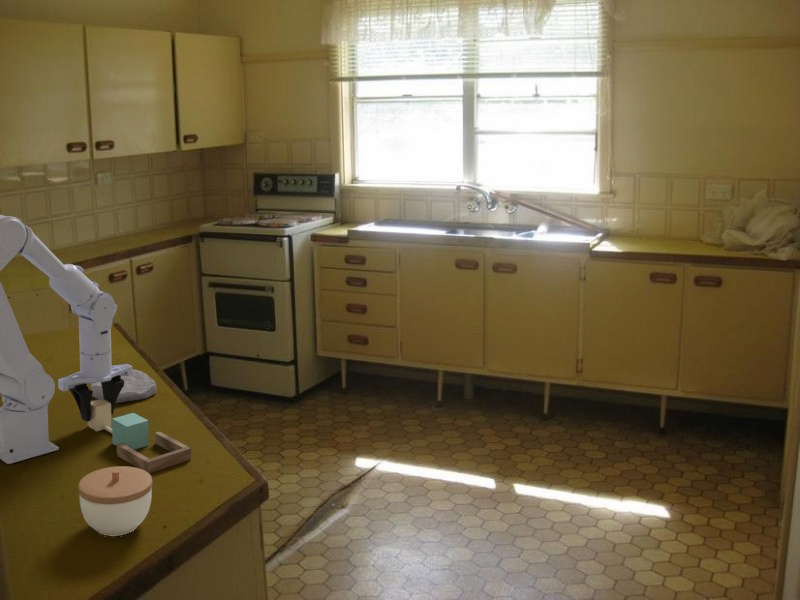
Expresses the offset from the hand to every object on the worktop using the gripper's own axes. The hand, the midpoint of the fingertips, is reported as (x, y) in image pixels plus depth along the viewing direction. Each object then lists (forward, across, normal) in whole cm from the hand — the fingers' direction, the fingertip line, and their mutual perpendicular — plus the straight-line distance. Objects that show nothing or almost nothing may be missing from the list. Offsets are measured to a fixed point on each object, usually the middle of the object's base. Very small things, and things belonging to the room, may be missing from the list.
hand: (97, 416), depth 170 cm
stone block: (+2, +13, +11) cm, 17 cm away
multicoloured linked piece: (+2, 0, -7) cm, 7 cm away
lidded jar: (+2, -18, -37) cm, 41 cm away
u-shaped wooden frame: (+2, 0, -19) cm, 19 cm away
